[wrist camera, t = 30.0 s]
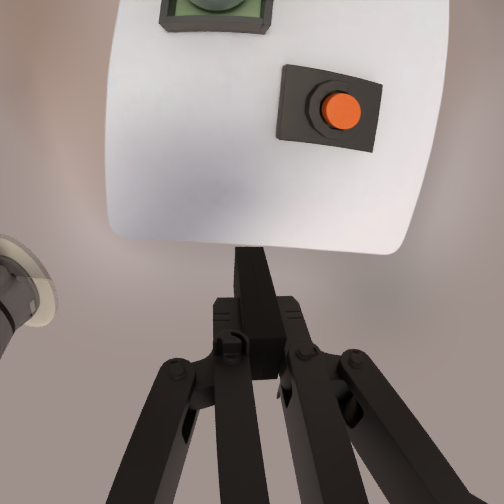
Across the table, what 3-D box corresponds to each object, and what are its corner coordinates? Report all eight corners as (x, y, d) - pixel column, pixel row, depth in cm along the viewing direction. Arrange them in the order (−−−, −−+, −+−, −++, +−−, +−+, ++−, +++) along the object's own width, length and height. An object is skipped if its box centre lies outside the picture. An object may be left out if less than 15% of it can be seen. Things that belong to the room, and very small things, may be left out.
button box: (275, 136, 33) (281, 142, 29) (283, 65, 28) (290, 62, 25) (365, 149, 34) (379, 156, 31) (374, 84, 30) (390, 85, 26)
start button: (319, 124, 29) (324, 126, 27) (323, 90, 27) (328, 90, 25) (351, 129, 29) (358, 132, 28) (356, 96, 27) (363, 97, 26)
